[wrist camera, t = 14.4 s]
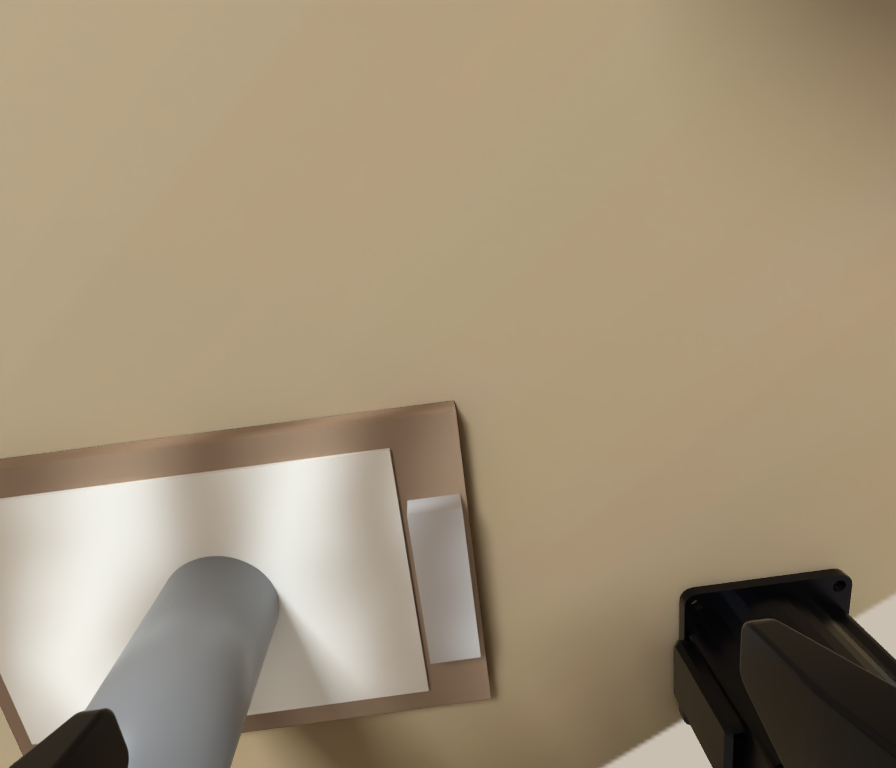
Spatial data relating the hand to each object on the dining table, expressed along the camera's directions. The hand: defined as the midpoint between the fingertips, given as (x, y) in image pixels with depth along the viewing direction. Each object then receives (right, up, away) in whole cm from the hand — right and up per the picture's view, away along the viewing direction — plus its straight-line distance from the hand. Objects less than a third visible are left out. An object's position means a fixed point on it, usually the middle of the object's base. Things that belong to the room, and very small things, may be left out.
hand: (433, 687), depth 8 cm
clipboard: (-8, -3, +13) cm, 16 cm away
